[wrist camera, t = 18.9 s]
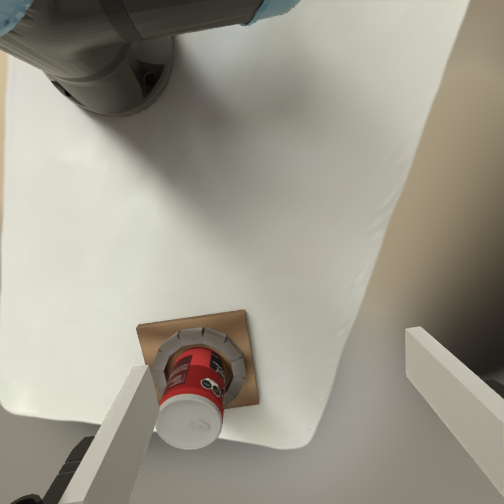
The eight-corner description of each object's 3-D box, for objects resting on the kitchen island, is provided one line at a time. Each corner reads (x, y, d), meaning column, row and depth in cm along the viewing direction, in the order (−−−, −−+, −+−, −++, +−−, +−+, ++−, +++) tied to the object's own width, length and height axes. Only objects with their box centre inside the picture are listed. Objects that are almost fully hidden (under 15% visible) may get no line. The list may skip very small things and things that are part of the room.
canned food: (226, 388, 48) (222, 451, 37) (174, 388, 48) (155, 451, 37) (227, 345, 46) (222, 397, 35) (173, 344, 46) (152, 397, 35)
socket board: (138, 324, 46) (132, 333, 43) (244, 309, 46) (244, 317, 43) (161, 412, 50) (157, 425, 48) (258, 398, 50) (259, 411, 47)
